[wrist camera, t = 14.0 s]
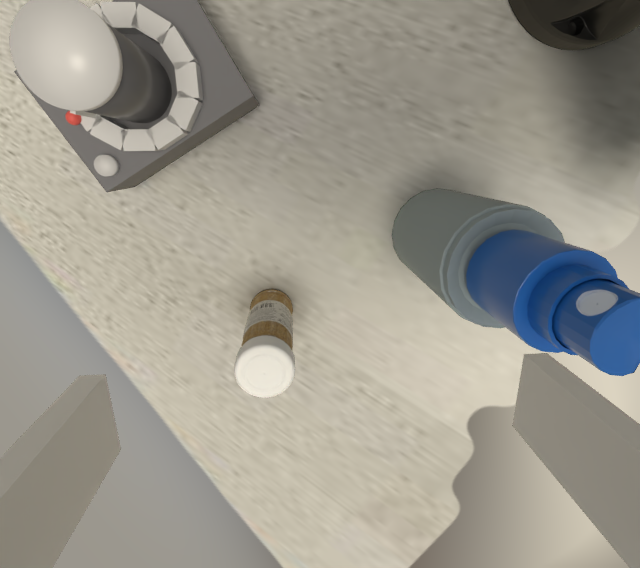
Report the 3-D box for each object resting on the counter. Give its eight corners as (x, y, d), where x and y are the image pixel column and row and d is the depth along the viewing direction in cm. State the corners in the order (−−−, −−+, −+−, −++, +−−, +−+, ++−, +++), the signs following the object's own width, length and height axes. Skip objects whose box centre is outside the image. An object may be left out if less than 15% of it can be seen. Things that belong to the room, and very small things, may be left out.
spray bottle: (375, 225, 40) (498, 325, 16) (448, 169, 39) (694, 190, 15) (421, 290, 43) (586, 457, 19) (491, 239, 41) (761, 350, 18)
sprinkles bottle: (252, 329, 43) (236, 402, 30) (248, 289, 41) (229, 348, 28) (295, 325, 43) (297, 397, 30) (291, 286, 41) (292, 343, 29)
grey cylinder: (105, 37, 28) (12, -22, 19) (178, 61, 29) (124, 15, 20) (96, 115, 30) (6, 95, 20) (166, 135, 31) (111, 125, 21)
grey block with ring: (192, -8, 33) (162, -58, 25) (259, 105, 36) (250, 91, 28) (59, 85, 34) (-7, 65, 27) (134, 186, 37) (94, 194, 30)
